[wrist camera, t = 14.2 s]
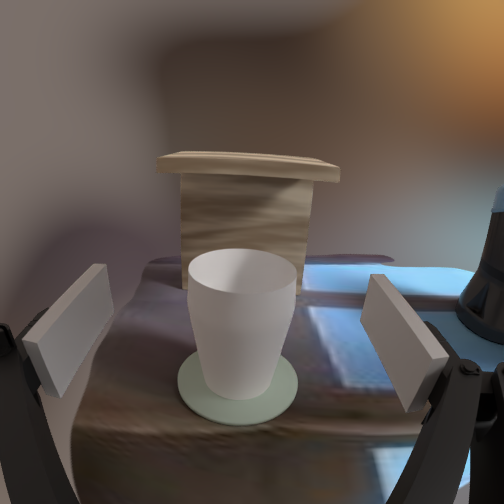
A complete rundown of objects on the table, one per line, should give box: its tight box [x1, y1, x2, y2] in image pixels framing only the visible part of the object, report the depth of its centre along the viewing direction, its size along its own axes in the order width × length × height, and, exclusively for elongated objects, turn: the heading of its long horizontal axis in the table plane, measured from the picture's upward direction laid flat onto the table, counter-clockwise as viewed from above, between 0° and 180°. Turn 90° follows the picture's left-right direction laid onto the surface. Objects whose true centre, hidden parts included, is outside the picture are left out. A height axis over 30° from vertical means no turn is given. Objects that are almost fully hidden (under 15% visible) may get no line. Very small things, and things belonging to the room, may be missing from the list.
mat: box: [177, 351, 298, 426], centre depth 30 cm, size 12×12×1 cm
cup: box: [187, 249, 297, 400], centre depth 27 cm, size 9×9×12 cm
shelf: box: [157, 151, 341, 295], centre depth 39 cm, size 14×18×20 cm
